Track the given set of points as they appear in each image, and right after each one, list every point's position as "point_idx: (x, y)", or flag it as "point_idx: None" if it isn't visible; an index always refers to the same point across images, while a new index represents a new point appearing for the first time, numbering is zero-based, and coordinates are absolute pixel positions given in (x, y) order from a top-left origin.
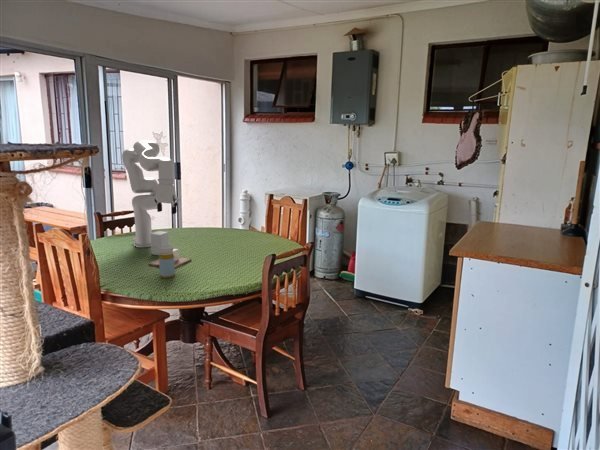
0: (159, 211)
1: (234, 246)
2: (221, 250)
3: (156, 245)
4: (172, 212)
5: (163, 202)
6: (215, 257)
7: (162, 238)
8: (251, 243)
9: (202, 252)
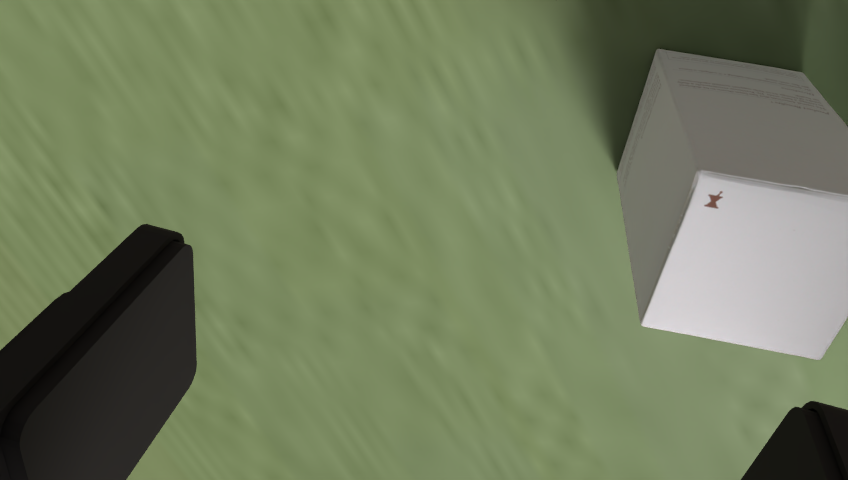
0: (776, 435)
1: None
2: None
3: (751, 104)
4: (123, 252)
5: None
6: (102, 107)
7: (674, 168)
8: None
9: (301, 230)
